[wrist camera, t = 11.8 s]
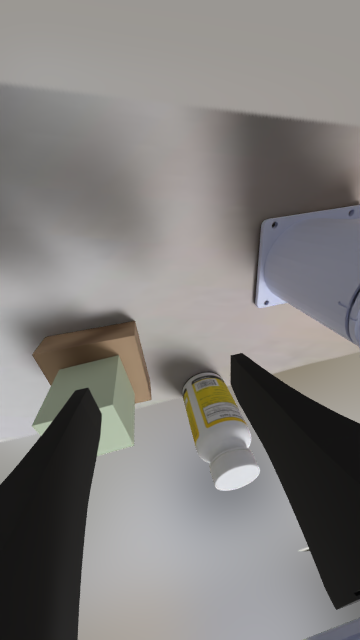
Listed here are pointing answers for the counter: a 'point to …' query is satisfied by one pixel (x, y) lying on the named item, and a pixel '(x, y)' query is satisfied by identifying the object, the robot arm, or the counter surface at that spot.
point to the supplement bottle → (219, 432)
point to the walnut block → (97, 353)
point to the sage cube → (108, 393)
